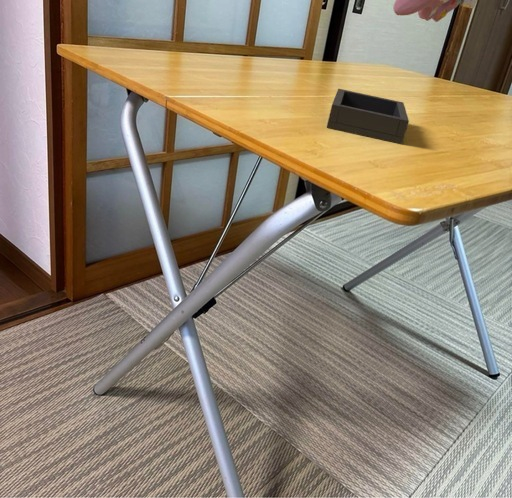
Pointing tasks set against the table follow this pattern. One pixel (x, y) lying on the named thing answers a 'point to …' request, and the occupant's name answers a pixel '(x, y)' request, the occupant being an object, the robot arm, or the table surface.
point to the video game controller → (425, 8)
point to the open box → (368, 116)
